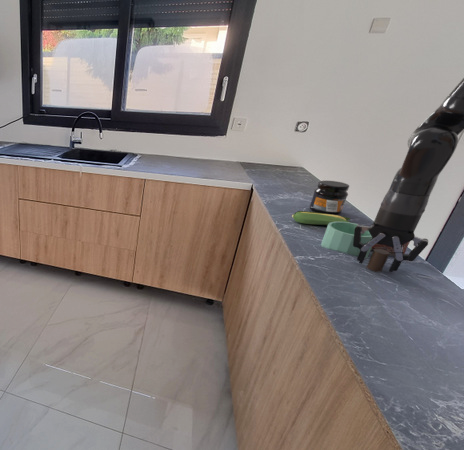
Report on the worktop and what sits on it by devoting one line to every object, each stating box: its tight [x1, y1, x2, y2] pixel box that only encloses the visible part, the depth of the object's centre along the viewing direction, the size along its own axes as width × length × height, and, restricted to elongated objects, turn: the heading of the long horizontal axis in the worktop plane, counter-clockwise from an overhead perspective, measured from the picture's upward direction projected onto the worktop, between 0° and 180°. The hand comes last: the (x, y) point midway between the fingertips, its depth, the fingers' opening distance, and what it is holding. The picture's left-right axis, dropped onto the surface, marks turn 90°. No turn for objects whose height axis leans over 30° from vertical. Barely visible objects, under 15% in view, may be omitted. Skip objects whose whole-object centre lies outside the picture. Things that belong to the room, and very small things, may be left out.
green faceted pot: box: [320, 221, 372, 259], centre depth 97 cm, size 11×11×8 cm
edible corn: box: [291, 210, 352, 226], centre depth 115 cm, size 5×20×5 cm, turn 70°
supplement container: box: [309, 180, 350, 216], centre depth 126 cm, size 10×10×12 cm
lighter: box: [370, 241, 411, 257], centre depth 94 cm, size 8×3×10 cm, turn 55°
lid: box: [366, 249, 390, 273], centre depth 84 cm, size 12×12×7 cm
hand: (375, 266), depth 85 cm, fingers open, 5 cm apart
